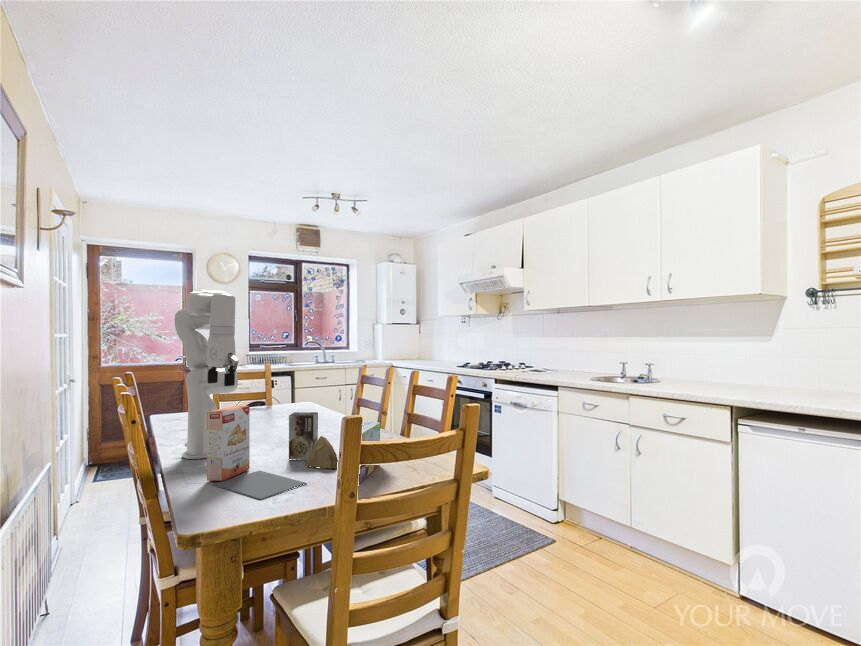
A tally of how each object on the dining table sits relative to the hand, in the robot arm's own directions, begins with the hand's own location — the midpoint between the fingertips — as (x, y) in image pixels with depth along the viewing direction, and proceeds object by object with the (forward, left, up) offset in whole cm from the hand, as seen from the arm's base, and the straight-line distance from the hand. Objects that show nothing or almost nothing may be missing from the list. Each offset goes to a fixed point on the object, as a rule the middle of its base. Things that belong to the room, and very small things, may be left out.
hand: (220, 384), depth 148 cm
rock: (+24, +22, -28) cm, 43 cm away
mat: (+22, -1, -28) cm, 36 cm away
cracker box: (+7, -1, -28) cm, 29 cm away
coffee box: (+10, +26, -28) cm, 40 cm away
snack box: (+40, +24, -28) cm, 55 cm away
